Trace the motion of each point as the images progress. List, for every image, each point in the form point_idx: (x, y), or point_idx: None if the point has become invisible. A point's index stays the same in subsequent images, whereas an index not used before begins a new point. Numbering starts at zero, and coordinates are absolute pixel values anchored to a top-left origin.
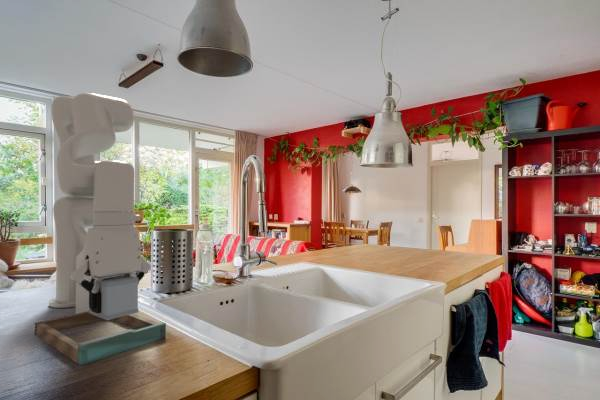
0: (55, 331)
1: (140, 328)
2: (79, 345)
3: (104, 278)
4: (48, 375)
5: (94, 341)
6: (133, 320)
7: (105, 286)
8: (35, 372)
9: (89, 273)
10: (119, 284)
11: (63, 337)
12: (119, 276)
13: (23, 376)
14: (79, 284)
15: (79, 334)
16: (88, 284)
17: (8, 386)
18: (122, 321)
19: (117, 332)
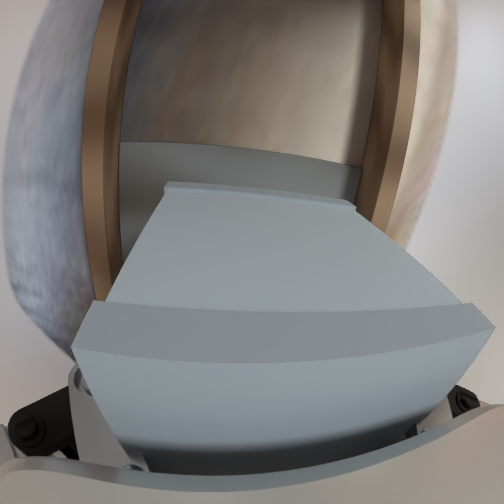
0: (106, 55)
1: (356, 206)
2: (107, 285)
3: (225, 463)
4: (57, 289)
5: (199, 174)
6: (378, 158)
7: None
8: (39, 251)
9: (62, 502)
10: None
11: (92, 160)
12: (361, 447)
13: (23, 251)
14: (15, 414)
15: (221, 33)
16: (73, 453)
17: (10, 273)
18: (380, 73)
19: (300, 158)
